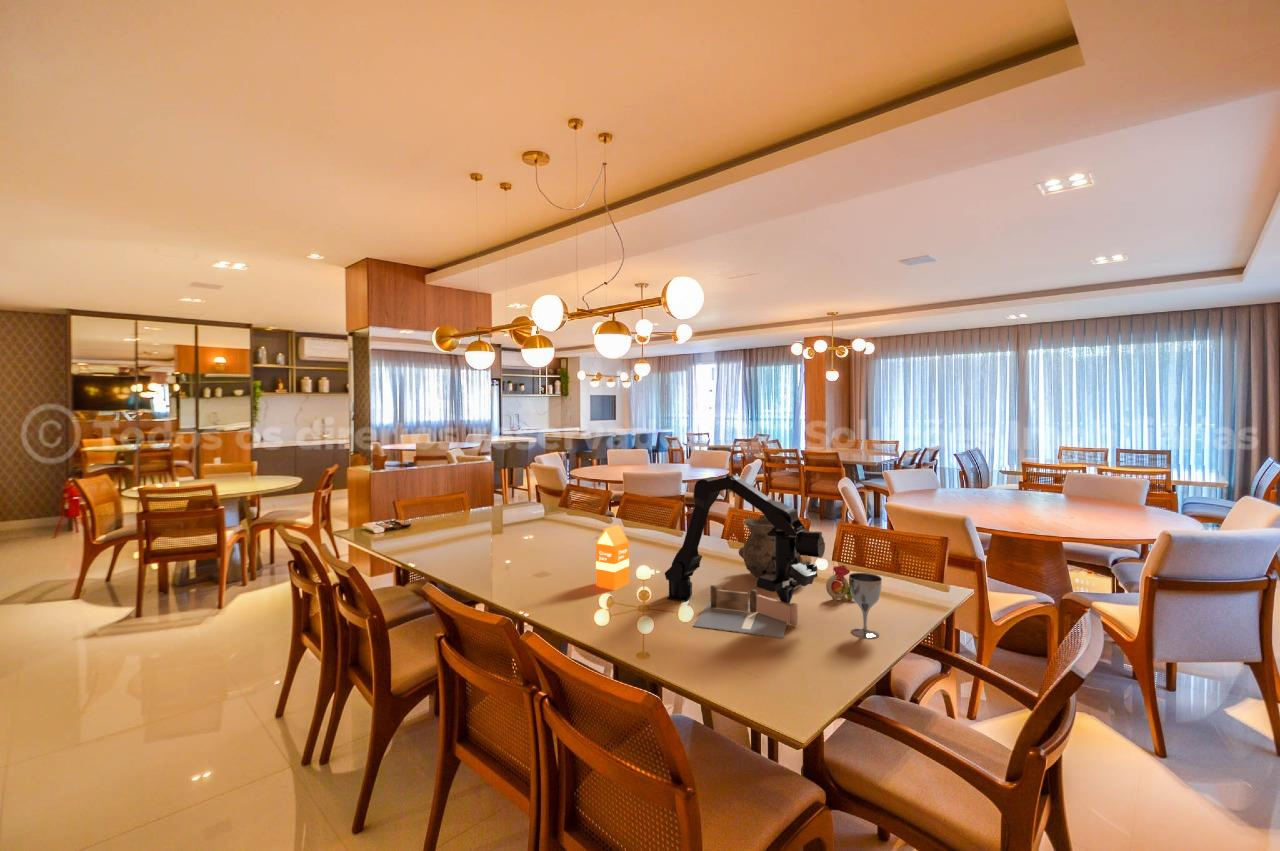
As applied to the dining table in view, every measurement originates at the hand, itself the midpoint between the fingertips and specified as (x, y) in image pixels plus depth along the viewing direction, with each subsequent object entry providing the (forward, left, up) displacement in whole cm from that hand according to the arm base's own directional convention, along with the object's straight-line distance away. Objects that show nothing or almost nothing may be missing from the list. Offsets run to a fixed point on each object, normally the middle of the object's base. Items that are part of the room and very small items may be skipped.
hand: (786, 608), depth 156 cm
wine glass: (+20, -3, -4) cm, 21 cm away
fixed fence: (-15, +3, -4) cm, 16 cm away
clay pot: (-8, +37, -4) cm, 38 cm away
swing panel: (-3, -1, -3) cm, 4 cm away
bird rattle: (+14, +23, -4) cm, 28 cm away
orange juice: (-59, +14, -4) cm, 61 cm away
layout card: (-12, -2, -4) cm, 12 cm away
